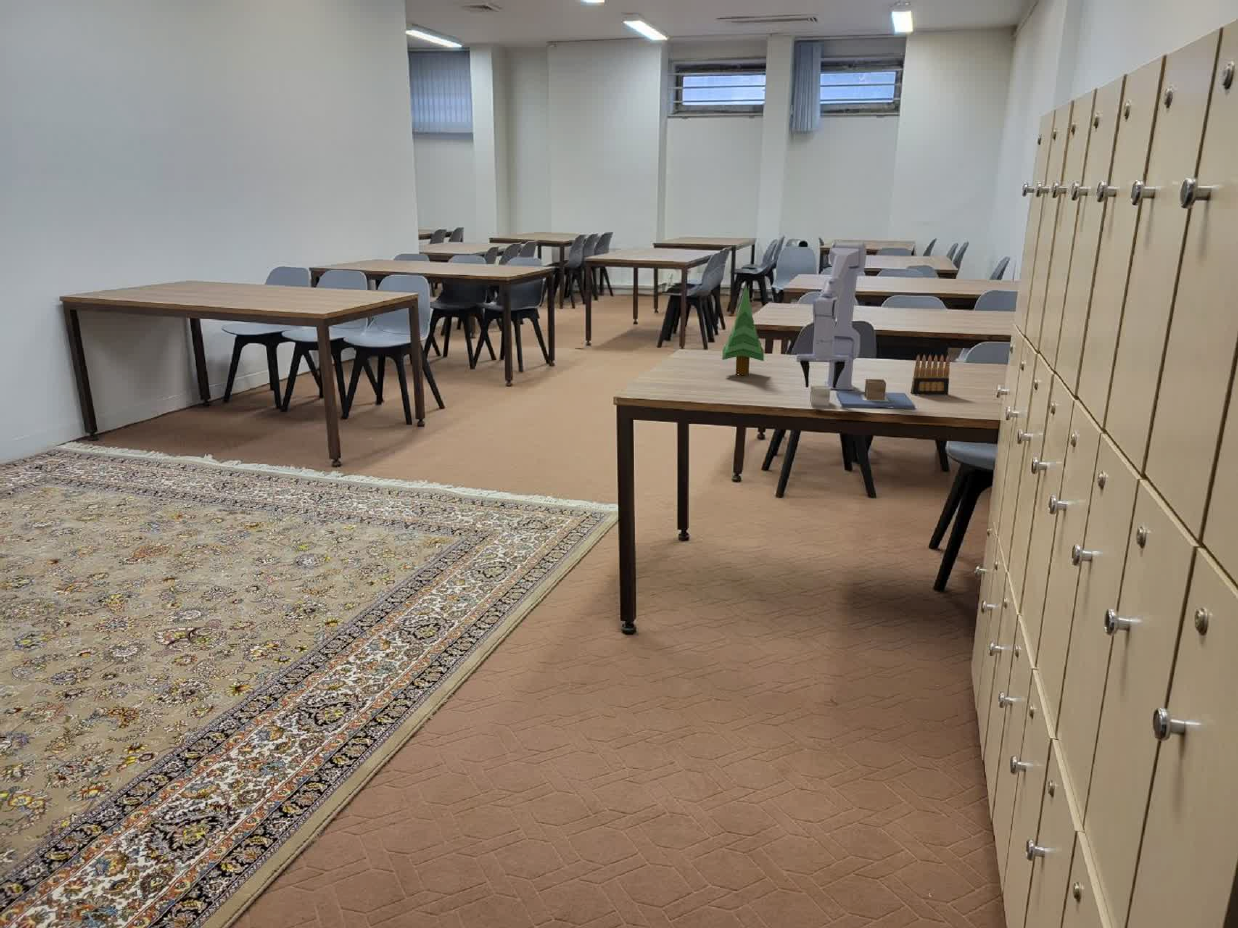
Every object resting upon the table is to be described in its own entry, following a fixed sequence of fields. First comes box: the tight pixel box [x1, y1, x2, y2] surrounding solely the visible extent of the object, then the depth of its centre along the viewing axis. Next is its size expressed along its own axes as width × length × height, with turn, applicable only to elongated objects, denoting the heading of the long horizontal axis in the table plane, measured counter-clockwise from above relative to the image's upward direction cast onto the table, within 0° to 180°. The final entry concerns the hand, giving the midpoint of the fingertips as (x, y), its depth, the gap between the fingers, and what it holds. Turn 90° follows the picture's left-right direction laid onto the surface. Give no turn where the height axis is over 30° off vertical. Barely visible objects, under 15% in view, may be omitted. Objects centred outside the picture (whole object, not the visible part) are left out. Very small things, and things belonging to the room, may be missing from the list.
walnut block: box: [864, 378, 887, 400], centre depth 255 cm, size 5×5×5 cm
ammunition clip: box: [910, 354, 951, 396], centre depth 264 cm, size 11×2×12 cm, turn 88°
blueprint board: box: [835, 390, 916, 410], centre depth 256 cm, size 16×20×1 cm
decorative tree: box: [721, 284, 765, 375], centre depth 289 cm, size 14×16×30 cm
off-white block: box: [809, 384, 831, 406], centre depth 254 cm, size 5×5×5 cm
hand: (820, 387), depth 253 cm, fingers open, 7 cm apart
